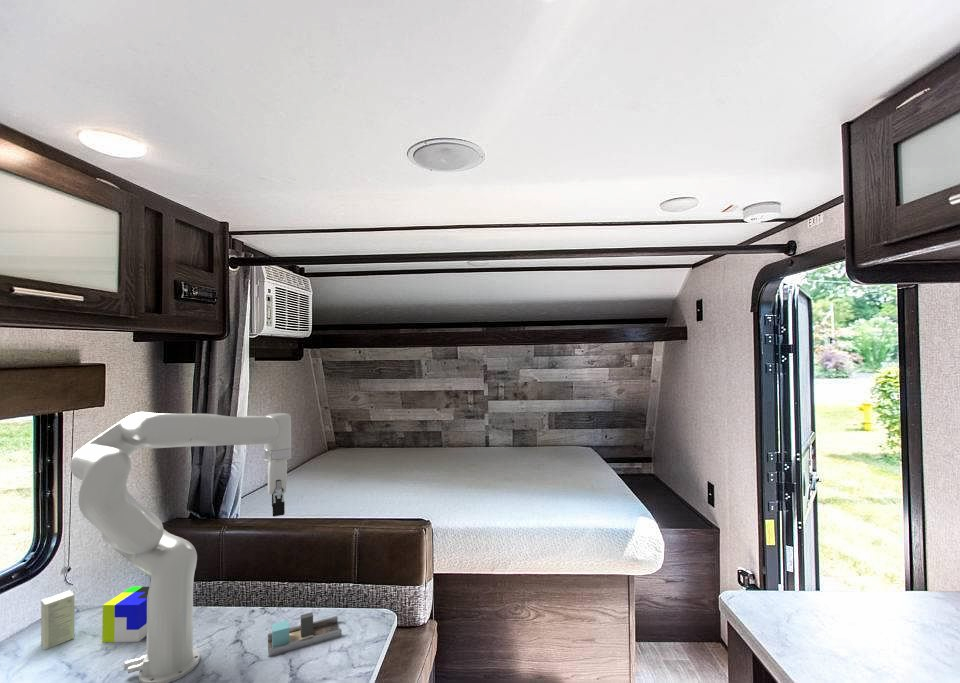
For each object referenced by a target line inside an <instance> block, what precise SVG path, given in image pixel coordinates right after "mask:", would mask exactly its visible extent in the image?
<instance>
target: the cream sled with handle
mask: <svg viewBox="0 0 960 683" xmlns="http://www.w3.org/2000/svg"><path fill="white" fill-rule="evenodd" d="M313 622H314V614H313V611H311V612H307V613H303V614H300V625H301V630H300V631H296V632H292V633H289V643H290V642H294V641H298V640H301V639H305V638H309V637H312V636H313V635H314V633H313V632H314V629H313ZM271 647H273V644H272V646H271Z"/></svg>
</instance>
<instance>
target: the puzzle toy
mask: <svg viewBox="0 0 960 683" xmlns="http://www.w3.org/2000/svg"><path fill="white" fill-rule="evenodd" d="M149 587H150V586H130V587H129V588H128V589H126V590H124V591H123V592H121V593H119V594H118V595H117V596H115V597H113V598H112V599H110V600H108V601H107V602H106V603H104V604H102V630H101V631H102V633H101V634H102V638H101V640H102V643H139V642H141V640H143V638H145V637H147V596H148V591H149Z"/></svg>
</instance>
